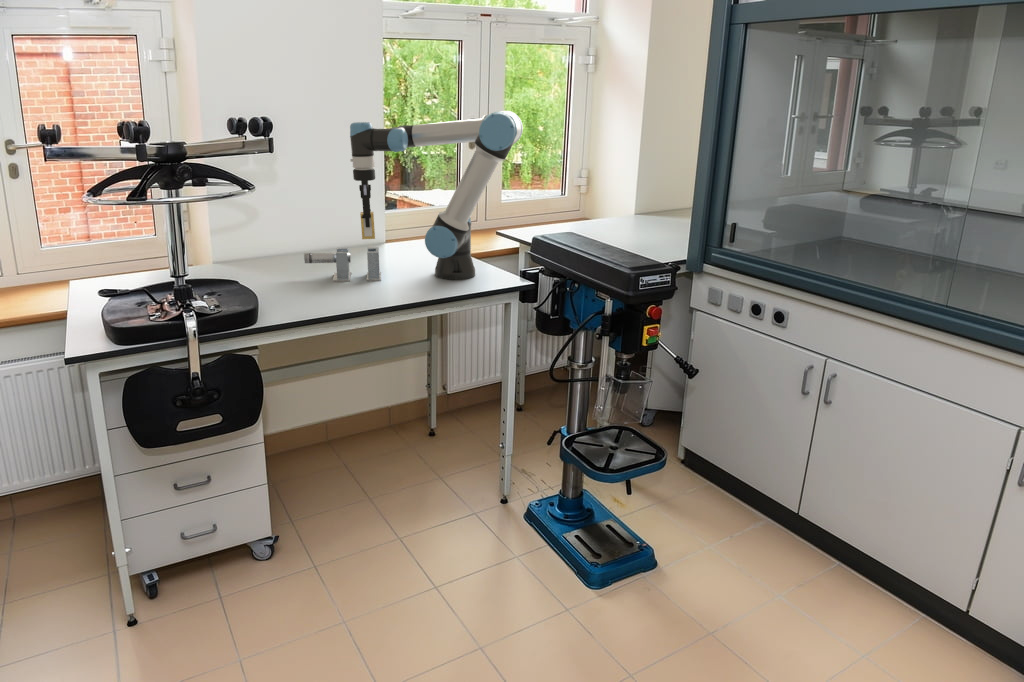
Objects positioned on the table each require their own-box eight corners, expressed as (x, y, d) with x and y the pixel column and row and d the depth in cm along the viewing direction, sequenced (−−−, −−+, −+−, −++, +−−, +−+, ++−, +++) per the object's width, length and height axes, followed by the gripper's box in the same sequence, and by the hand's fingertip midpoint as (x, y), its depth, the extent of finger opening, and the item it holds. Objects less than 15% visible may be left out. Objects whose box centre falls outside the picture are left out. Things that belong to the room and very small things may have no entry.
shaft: (350, 261, 269) (350, 251, 268) (350, 263, 266) (349, 253, 265) (305, 262, 267) (305, 252, 265) (304, 264, 263) (303, 254, 262)
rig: (381, 273, 276) (380, 246, 272) (381, 280, 267) (379, 253, 263) (334, 274, 273) (332, 247, 270) (332, 281, 264) (331, 253, 260)
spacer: (375, 236, 268) (373, 211, 265) (375, 238, 263) (373, 213, 260) (362, 236, 267) (360, 212, 264) (362, 239, 263) (360, 214, 260)
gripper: (353, 165, 264) (358, 230, 272) (352, 171, 248) (357, 240, 256) (374, 165, 266) (378, 229, 274) (374, 171, 249) (379, 239, 257)
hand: (368, 234), depth 265 cm, fingers closed on spacer, 4 cm apart
